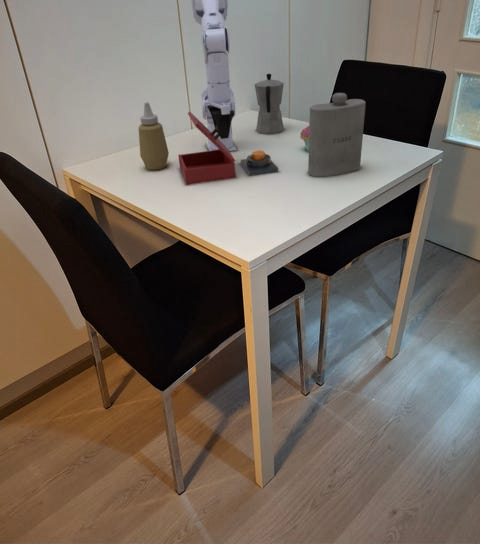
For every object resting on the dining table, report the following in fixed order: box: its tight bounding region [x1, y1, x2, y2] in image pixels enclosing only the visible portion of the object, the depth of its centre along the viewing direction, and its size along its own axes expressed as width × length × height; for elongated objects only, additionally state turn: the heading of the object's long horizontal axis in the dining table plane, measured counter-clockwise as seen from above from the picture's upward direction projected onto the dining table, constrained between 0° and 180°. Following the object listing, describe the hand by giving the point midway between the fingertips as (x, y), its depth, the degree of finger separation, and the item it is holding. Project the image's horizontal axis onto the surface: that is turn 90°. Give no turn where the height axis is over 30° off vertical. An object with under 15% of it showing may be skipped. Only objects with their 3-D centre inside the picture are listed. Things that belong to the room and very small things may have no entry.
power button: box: [251, 150, 266, 160], centre depth 133 cm, size 4×4×2 cm
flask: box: [307, 92, 366, 178], centre depth 125 cm, size 15×6×20 cm, turn 109°
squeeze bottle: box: [138, 101, 170, 171], centre depth 135 cm, size 8×8×18 cm
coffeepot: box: [253, 73, 285, 135], centre depth 158 cm, size 15×9×18 cm, turn 175°
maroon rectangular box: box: [177, 149, 237, 186], centre depth 133 cm, size 13×12×4 cm
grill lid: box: [187, 111, 236, 163], centre depth 128 cm, size 14×12×4 cm
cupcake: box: [299, 125, 309, 152], centre depth 142 cm, size 9×8×12 cm
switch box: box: [240, 153, 279, 177], centre depth 134 cm, size 10×8×3 cm
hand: (222, 135), depth 129 cm, fingers closed on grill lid, 5 cm apart
